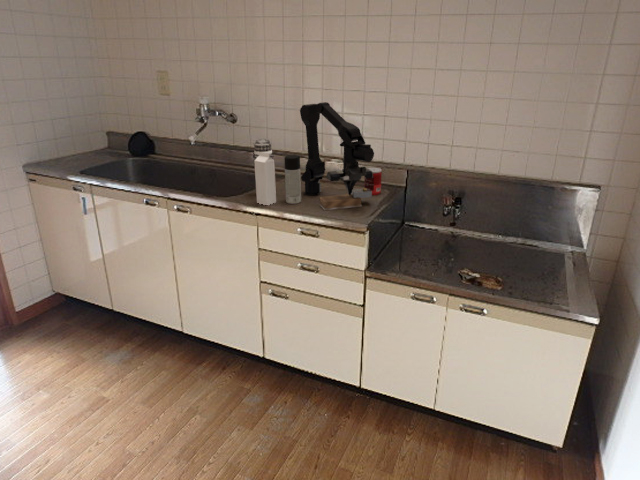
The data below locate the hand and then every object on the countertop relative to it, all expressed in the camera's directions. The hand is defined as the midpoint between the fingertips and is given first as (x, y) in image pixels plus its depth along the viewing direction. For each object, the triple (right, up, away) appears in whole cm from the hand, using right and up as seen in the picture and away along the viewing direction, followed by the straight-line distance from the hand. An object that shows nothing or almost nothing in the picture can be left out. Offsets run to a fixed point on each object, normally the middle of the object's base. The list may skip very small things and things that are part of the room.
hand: (349, 194), depth 196 cm
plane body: (-4, -5, +1) cm, 6 cm away
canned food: (+12, +2, +17) cm, 21 cm away
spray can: (-24, -3, +6) cm, 25 cm away
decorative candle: (-38, +1, +16) cm, 41 cm away
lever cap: (+5, 0, +1) cm, 5 cm away
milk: (-36, -3, +5) cm, 36 cm away
